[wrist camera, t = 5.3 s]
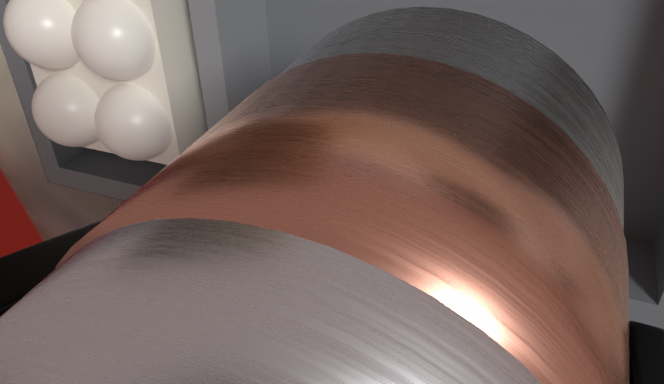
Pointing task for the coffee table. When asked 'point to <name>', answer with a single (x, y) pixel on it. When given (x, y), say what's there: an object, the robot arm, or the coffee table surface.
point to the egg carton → (112, 74)
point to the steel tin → (361, 230)
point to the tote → (353, 3)
